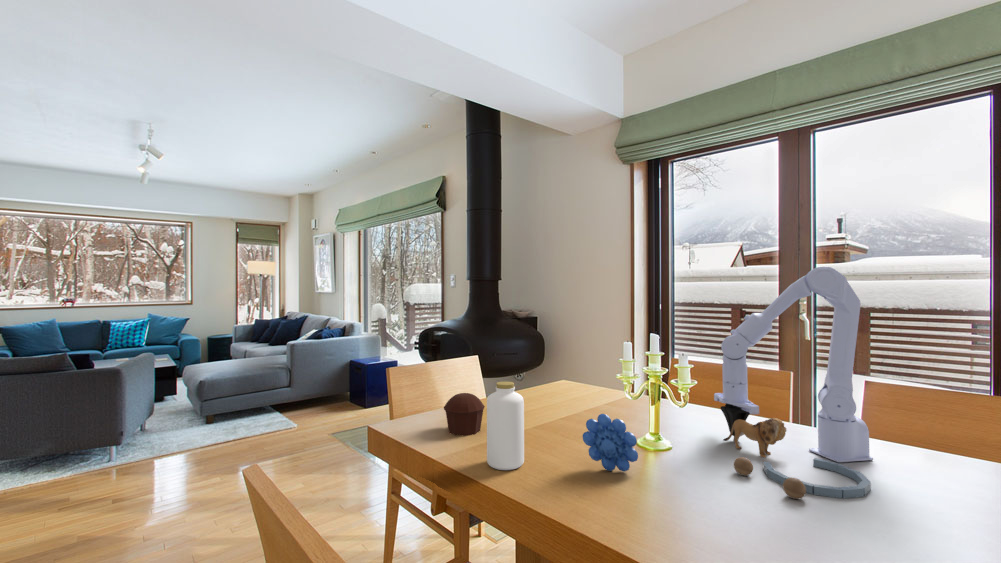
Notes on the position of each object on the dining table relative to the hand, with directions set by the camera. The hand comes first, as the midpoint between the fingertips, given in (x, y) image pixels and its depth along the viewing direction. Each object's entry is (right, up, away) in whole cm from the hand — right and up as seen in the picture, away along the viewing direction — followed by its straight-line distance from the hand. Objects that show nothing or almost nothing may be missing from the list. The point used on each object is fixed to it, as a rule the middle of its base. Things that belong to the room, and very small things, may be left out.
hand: (735, 435), depth 115 cm
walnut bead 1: (-10, -1, -21) cm, 24 cm away
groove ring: (+4, -1, -24) cm, 25 cm away
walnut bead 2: (-6, -1, -32) cm, 33 cm away
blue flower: (-37, -1, -20) cm, 42 cm away
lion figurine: (+1, -2, -7) cm, 8 cm away
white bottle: (-59, -1, -15) cm, 61 cm away
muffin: (-70, -2, +9) cm, 71 cm away
